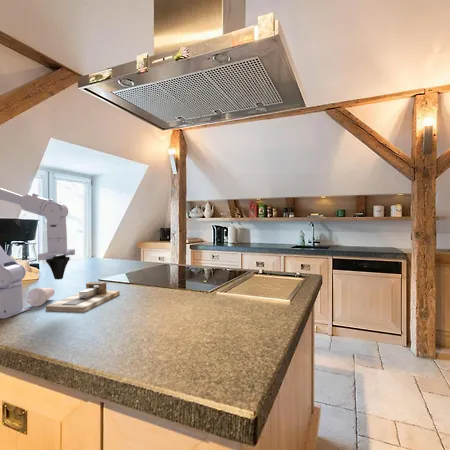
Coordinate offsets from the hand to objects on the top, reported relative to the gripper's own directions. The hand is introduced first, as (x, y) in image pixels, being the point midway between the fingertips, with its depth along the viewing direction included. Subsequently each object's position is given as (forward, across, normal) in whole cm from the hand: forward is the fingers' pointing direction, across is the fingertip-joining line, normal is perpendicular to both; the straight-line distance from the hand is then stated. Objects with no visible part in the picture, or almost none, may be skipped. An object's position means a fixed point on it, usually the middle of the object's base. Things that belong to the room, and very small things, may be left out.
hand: (58, 279), depth 98 cm
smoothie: (+8, +12, +14) cm, 20 cm away
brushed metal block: (+9, +13, -3) cm, 16 cm away
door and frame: (+10, +10, -3) cm, 15 cm away
